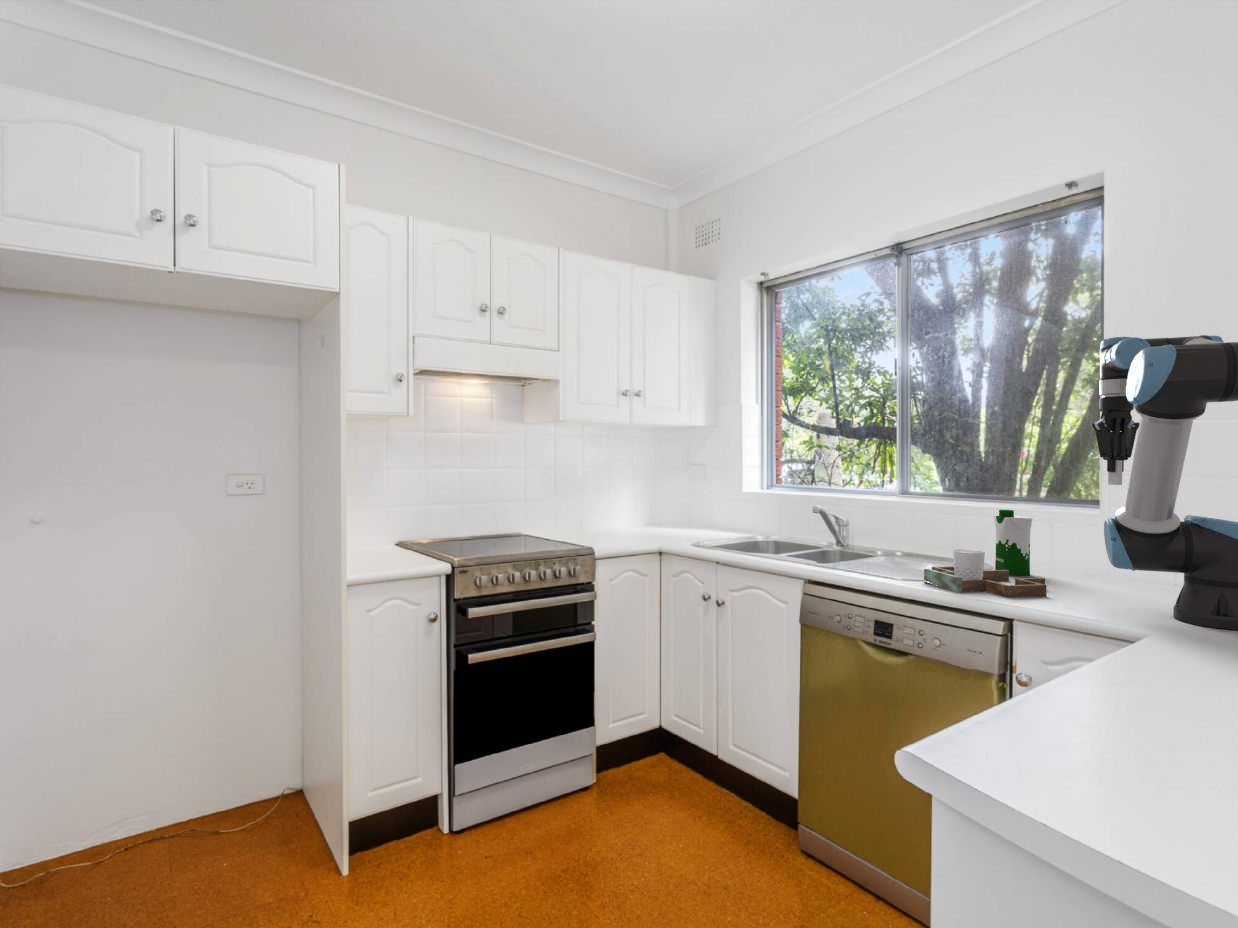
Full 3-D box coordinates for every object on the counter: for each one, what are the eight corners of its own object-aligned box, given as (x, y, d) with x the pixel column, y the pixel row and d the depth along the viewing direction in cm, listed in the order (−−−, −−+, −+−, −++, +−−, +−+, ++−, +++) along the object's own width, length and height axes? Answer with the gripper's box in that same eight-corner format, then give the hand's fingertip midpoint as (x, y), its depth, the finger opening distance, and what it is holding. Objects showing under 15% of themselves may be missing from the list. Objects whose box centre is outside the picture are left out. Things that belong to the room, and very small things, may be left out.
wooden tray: (1070, 595, 178) (1070, 580, 178) (979, 598, 173) (979, 583, 173) (985, 574, 208) (986, 562, 208) (906, 577, 203) (907, 564, 203)
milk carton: (990, 571, 215) (991, 509, 215) (1019, 571, 215) (1019, 509, 215) (1005, 576, 207) (1006, 511, 206) (1035, 576, 206) (1036, 511, 206)
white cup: (976, 583, 194) (976, 549, 194) (989, 589, 186) (989, 553, 186) (948, 583, 194) (948, 548, 194) (959, 588, 186) (960, 552, 186)
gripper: (1123, 398, 184) (1122, 484, 185) (1083, 397, 182) (1082, 484, 182) (1150, 395, 177) (1148, 485, 177) (1108, 394, 174) (1107, 485, 175)
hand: (1115, 484), depth 180 cm, fingers closed
